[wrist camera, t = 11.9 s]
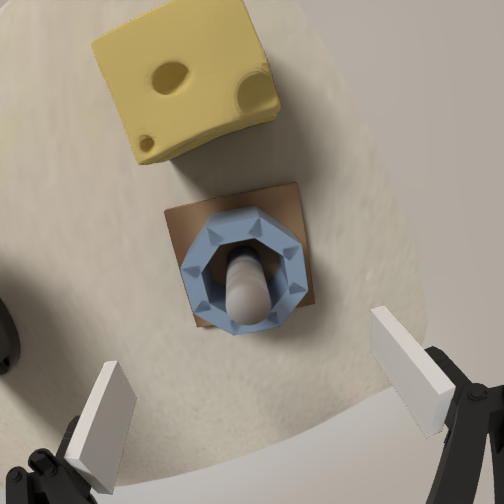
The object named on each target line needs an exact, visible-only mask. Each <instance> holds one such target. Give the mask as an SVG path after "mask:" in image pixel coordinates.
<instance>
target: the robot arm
mask: <svg viewBox="0 0 504 504" xmlns="http://www.w3.org/2000/svg"><path fill="white" fill-rule="evenodd" d="M370 352H371V354H372V355H373V357H374V358H375V360H376V361H377V363H378V364H379V366H380V367H381V369H382V370H383V372H384V373H385V375H386V376H387V378H388V379H389V381H390V382H391V384H392V386H393V387H394V389H395V390H396V392H397V393H398V395H399V396H400V398H401V399H402V401H403V403H404V404H405V406H406V407H407V409H408V410H409V412H410V414H411V415H412V417H413V418H414V420H415V421H416V423H417V425H418V426H419V428H420V429H421V431H422V433H423V434H424V436H425V438H426V439H427V438H429V437H431V436H433V435H436V434H437V433H440V432H441V431H442V429H443V426H444V423H445V424H446V426H447V427H448V429H449V430H448V433H447V435H446V438H445V441H444V443H445V445H444V448H443V452H442V456H441V459H440V463H439V466H438V469H437V473H436V476H435V479H434V482H433V485H432V488H431V491H430V493H429V496H428V499H427V501H426V504H473V501H474V498H475V494H476V490H477V486H478V481H479V477H480V472H481V467H482V462H483V456H484V450H485V444H486V437H487V434H488V433H489V436H490V444H491V452H492V463H493V475H494V493H495V504H504V385H501V386H497V387H492V388H487V387H486V386H485V385H483V384H479V383H472V382H471V381H470V380H469V379H468V378H467V377H466V376H465V375H464V374H463V372H462V371H461V370H460V369H459V368H458V367H457V366H456V365H455V364H454V363H453V361H452V360H451V359H449V357H448V356H447V355H446V354H445V353H444V352H443V351H442V350H440V349H438V348H436V347H434V346H432V347H429V348H427V349H423V348H422V347H421V346H420V345H419V344H418V343H417V342H416V340H415V339H414V338H413V337H412V336H411V335H410V334H409V333H408V332H407V330H406V329H405V328H404V327H403V326H402V325H401V324H400V323H399V322H398V321H397V319H396V318H395V317H394V316H393V315H392V314H391V313H390V312H389V311H388V310H387V309H386V308H385V307H384V306H380V307H377V308H373V309H370ZM19 355H20V344H19V338H18V334H17V331H16V328H15V326H14V323H13V321H12V319H11V317H10V315H9V313H8V311H7V309H6V308H5V306H4V304H3V303H2V301H1V300H0V378H1V377H3V376H5V375H6V374H8V373H9V372H10V370H11V369H12V368H13V367H14V366H15V364H16V363H17V361H18V359H19ZM136 400H137V397H136V395H135V393H134V392H133V390H132V388H131V386H130V384H129V382H128V380H127V378H126V376H125V375H124V373H123V371H122V369H121V367H120V365H119V363H118V361H108V362H105V363H104V365H103V368H102V370H101V372H100V374H99V376H98V378H97V380H96V383H95V385H94V387H93V389H92V391H91V394H90V396H89V398H88V400H87V403H86V405H85V407H84V410H83V412H82V414H81V416H75V417H74V419H73V420H72V421H71V422H70V423H69V425H68V427H67V430H66V433H65V434H64V437H63V438H64V439H62V441H61V444H60V446H59V449H58V451H57V453H56V456H54V455H53V454H52V453H51V452H50V451H49V450H48V449H45V448H41V449H38V450H36V451H34V452H33V453H32V454H31V455H30V457H29V459H28V466H29V467H30V468H31V469H32V470H33V471H34V472H31V473H28V472H27V471H26V470H25V469H24V468H23V467H20V466H18V467H14V468H12V469H11V470H10V471H9V472H8V474H7V476H6V504H97V502H96V500H95V498H94V497H93V495H92V494H91V493H90V490H91V487H92V488H93V489H94V490H95V491H96V492H98V493H101V494H113V490H114V486H115V482H116V477H117V473H118V469H119V465H120V461H121V457H122V453H123V449H124V445H125V441H126V437H127V433H128V429H129V425H130V422H131V418H132V414H133V411H134V407H135V404H136Z"/></svg>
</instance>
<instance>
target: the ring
mask: <svg viewBox="0 0 504 504" xmlns="http://www.w3.org/2000/svg"><path fill="white" fill-rule="evenodd" d="M252 238H256V239H257V240H259V241H260V242H262V243H264V244H265V245H267V246H268V247H270V248H271V249H273V250H274V251H276V252H278V258H279V264H280V266H279V267H278V269H277V270H276V272H275V273H274V274H273V276H272V277H271V278H270V280H269V281H268V282H267V288H268V292H269V296H270V300H271V310H270V313H269V315H268V316H267V317H266V318H265V319H264V320H263V321H262V322H260V323H258V324H255V325H241V324H238V323H236V322H234V321H233V320H232V319H231V318H230V317H229V315H228V314H227V311H226V287H225V286H223V285H222V284H220V283H218V282H216V281H215V280H213V279H212V275H211V271H210V267H209V263H208V262H209V260H210V259H211V257H212V256H213V254H214V253H215V251H216V250H217V248H218V247H219V245H222V244H227V243H232V242H237V241H242V240H247V239H252ZM180 270H181V274H182V277H183V281H184V284H185V288H186V291H187V294H188V298H189V301H190V304H191V308H192V311H193V313H194V314H195V315H197V316H199V317H201V318H202V319H204V320H206V321H208V322H210V323H211V324H213V325H215V326H217V327H219V328H221V329H222V330H224V331H226V332H228V333H230V334H232V335H239V334H245V333H250V332H255V331H260V330H265V329H270V328H275V327H280V326H281V324H282V323H283V322H284V321H285V319H286V318H287V317H288V316H289V314H290V313H291V312H292V311H293V309H294V308H295V307H296V306H297V304H298V303H299V302H300V301H301V299H302V298H303V297H304V295H305V294H306V293H307V292H308V286H307V278H306V271H305V264H304V257H303V250H302V244H301V243H300V242H299V240H298V239H297V238H296V236H295V235H294V233H293V232H292V231H291V229H290V228H288V227H287V226H285V225H284V224H282V223H281V222H279V221H278V220H276V219H275V218H273V217H272V216H270V215H269V214H267V213H266V212H264V211H263V210H261V209H260V208H258V207H257V206H255V205H253V206H248V207H243V208H238V209H233V210H228V211H223V212H219V213H214V214H211V215H210V217H209V218H208V220H207V221H206V223H205V224H204V226H203V227H202V229H201V230H200V232H199V234H198V235H197V237H196V238H195V240H194V241H193V243H192V245H191V246H190V248H189V249H188V252H187V254H186V256H185V259H184V261H183V264H182V266H181V269H180Z"/></svg>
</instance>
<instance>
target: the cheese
mask: <svg viewBox="0 0 504 504" xmlns="http://www.w3.org/2000/svg"><path fill="white" fill-rule="evenodd" d="M91 45H92V48H93V52H94V55H95V58H96V61H97V63H98V66H99V68H100V70H101V73H102V75H103V77H104V79H105V82H106V84H107V86H108V88H109V91H110V93H111V95H112V98H113V100H114V102H115V105H116V107H117V110H118V112H119V115H120V117H121V120H122V123H123V125H124V128H125V131H126V134H127V137H128V139H129V142H130V145H131V148H132V151H133V153H134V156H135V158H136V161H137V163H138V164H139V165H149V164H153V163H161V162H165V161H168V160H170V159H173V158H175V157H177V156H179V155H181V154H183V153H185V152H188V151H190V150H192V149H194V148H196V147H198V146H201V145H203V144H205V143H207V142H209V141H211V140H213V139H215V138H217V137H219V136H222V135H225V134H228V133H231V132H234V131H238V130H241V129H244V128H247V127H250V126H253V125H257V124H261V123H265V122H269V121H273V120H275V119H276V118H277V112H279V111H280V110H281V103H280V100H279V98H278V95H277V93H276V90H275V87H274V83H273V78H272V74H271V71H270V67H269V63H268V60H267V58H266V55H265V52H264V50H263V47H262V45H261V43H260V40H259V38H258V36H257V34H256V31H255V29H254V26H253V24H252V22H251V19H250V17H249V14H248V12H247V9H246V7H245V5H244V2H243V0H173V1H171V2H168V3H166V4H164V5H161V6H159V7H157V8H155V9H153V10H151V11H148V12H146V13H144V14H142V15H140V16H138V17H136V18H134V19H132V20H130V21H128V22H126V23H125V24H123V25H121V26H119V27H117V28H115V29H113V30H111V31H109V32H107V33H105V34H104V35H102V36H100V37H98V38H96V39H94V40H93V41H92V43H91Z"/></svg>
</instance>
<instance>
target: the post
mask: <svg viewBox="0 0 504 504" xmlns="http://www.w3.org/2000/svg"><path fill="white" fill-rule="evenodd" d="M253 205H255V206H257V207H258V208H260V209H261V210H263V211H264V212H266V213H267V214H269V215H270V216H272V217H273V218H275V219H276V220H278V221H279V222H281V223H282V224H284V225H285V226H287V227H288V228H290V229H291V231H292V232H293V233H294V235H295V236H296V238H297V239H298V240H299V242H300V243H301V244H302V250H303V257H304V264H305V271H306V278H307V286H308V292H307V293H306V294H305V295H304V297H303V298H302V299H301V301H300V302H299V303H298V304H297V306H296V307H295V308H298V307H302V306H307V305H311V304H315V301H314V293H313V285H312V278H311V271H310V263H309V256H308V249H307V243H306V236H305V230H304V223H303V217H302V211H301V204H300V198H299V193H298V187H297V183H295V182H294V183H288V184H283V185H278V186H272V187H267V188H262V189H257V190H252V191H247V192H242V193H237V194H233V195H228V196H223V197H219V198H214V199H209V200H205V201H201V202H196V203H192V204H187V205H183V206H179V207H175V208H170V209H166V210H165V211H164V214H165V218H166V222H167V226H168V229H169V233H170V237H171V241H172V244H173V248H174V252H175V255H176V259H177V262H178V266H179V269H181V266H182V264H183V261H184V259H185V256H186V254H187V252H188V249H189V248H190V246H191V245H192V243H193V241H194V240H195V238H196V237H197V235H198V234H199V232H200V230H201V229H202V227H203V226H204V224H205V223H206V221H207V220H208V218H209V217H210V215H211V214H214V213H219V212H223V211H228V210H233V209H238V208H243V207H248V206H253ZM208 263H209V267H210V271H211V275H212V279H213V280H215V281H216V282H218V283H220V284H222V285H223V286H225V287H226V311H227V314H228V315H229V317H230V318H231V319H232V320H233V321H234V322H236V323H238V324H241V325H255V324H258V323H260V322H262V321H263V320H264V319H265V318H266V317H267V316H268V315H269V313H270V310H271V300H270V296H269V292H268V288H267V282H268V281H269V280H270V278H271V277H272V276H273V274H274V273H275V272H276V270H277V269H278V267H279V266H280V264H279V258H278V252H276V251H274V250H273V249H271V248H270V247H268V246H267V245H265V244H264V243H262V242H260V241H259V240H257V239H256V238H252V239H247V240H242V241H237V242H232V243H227V244H222V245H219V247H218V248H217V250H216V251H215V253H214V254H213V256H212V257H211V259H210V260H209V262H208ZM180 273H181V270H180ZM181 276H182V274H181ZM182 280H183V277H182ZM183 283H184V281H183ZM184 286H185V284H184ZM185 290H186V288H185ZM186 293H187V291H186ZM187 296H188V294H187ZM188 300H189V298H188ZM189 303H190V301H189ZM190 306H191V304H190ZM191 309H192V308H191ZM192 312H193V311H192ZM193 316H194V319H195V322H196V325H197V327H203V326H208V325H213V324H211V323H210V322H208V321H206V320H204V319H202V318H201V317H199V316H197V315H195V314H194V313H193Z"/></svg>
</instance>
